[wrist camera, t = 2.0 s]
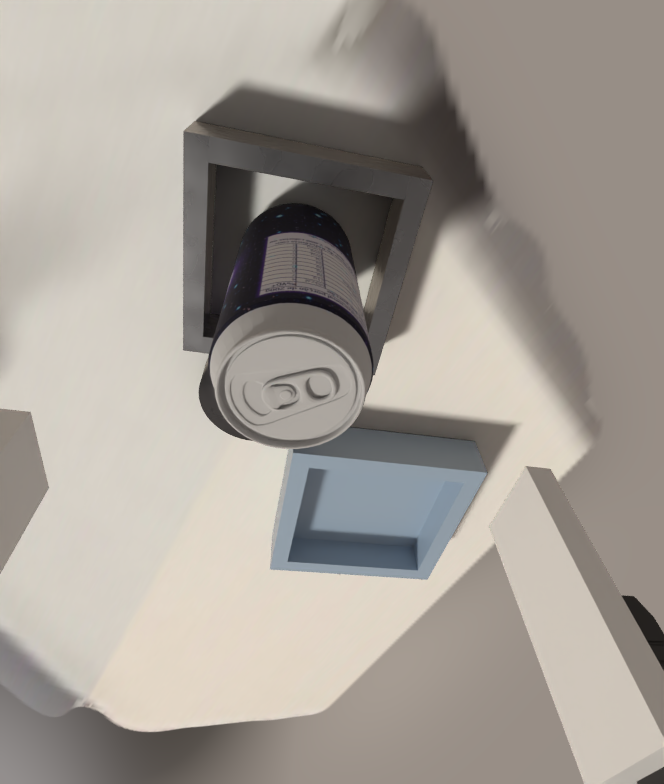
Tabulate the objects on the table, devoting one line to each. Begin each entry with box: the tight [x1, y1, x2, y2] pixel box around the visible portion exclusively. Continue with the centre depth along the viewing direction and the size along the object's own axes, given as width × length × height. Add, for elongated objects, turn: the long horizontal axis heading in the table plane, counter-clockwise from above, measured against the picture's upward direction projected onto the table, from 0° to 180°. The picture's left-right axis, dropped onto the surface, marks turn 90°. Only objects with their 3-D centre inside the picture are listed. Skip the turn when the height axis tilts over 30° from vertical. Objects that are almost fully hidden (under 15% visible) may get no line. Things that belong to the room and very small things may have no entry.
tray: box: [270, 427, 487, 579], centre depth 36 cm, size 13×13×3 cm
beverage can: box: [208, 203, 374, 449], centre depth 20 cm, size 6×6×12 cm
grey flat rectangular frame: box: [183, 121, 433, 441], centre depth 26 cm, size 17×10×3 cm, turn 169°
